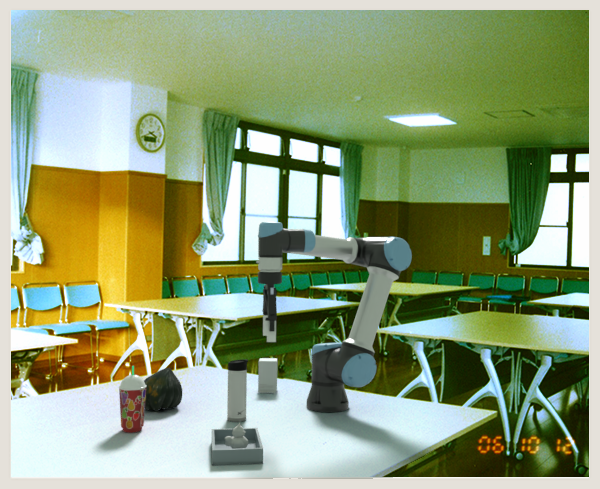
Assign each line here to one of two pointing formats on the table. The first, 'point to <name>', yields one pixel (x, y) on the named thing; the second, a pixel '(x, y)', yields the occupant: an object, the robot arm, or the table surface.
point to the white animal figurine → (237, 438)
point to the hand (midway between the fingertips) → (269, 338)
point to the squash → (162, 390)
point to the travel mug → (237, 390)
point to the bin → (236, 456)
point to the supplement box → (267, 375)
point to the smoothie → (132, 403)
